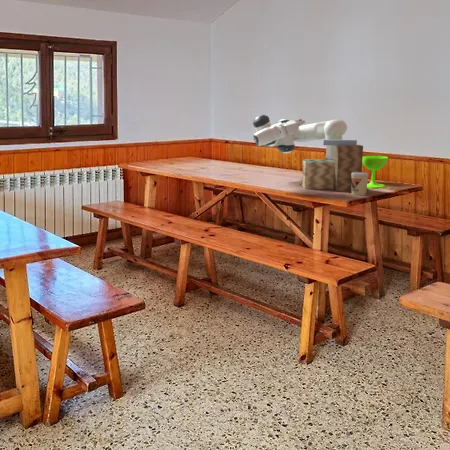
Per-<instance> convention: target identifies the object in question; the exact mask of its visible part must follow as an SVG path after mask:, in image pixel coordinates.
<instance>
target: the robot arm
mask: <svg viewBox="0 0 450 450" xmlns="http://www.w3.org/2000/svg"><path fill="white" fill-rule="evenodd" d="M305 123H306V120H304V119H302V118H300V119H296V120H294V119H292V120H291V119H290V120H289V119H286V118H281V119H279V120H278V121H276V122H275V124H271V121H270V117H269V116H268V115H265V114H261V115H258V116H257V117H255V118H254V119H253V122H252V125H253V128H254V129H255V133H254V134H253V141H254V143H255V144H256V146H258V147H261V146H264V147H275V146H276V149H277V150H278V151H279V152H280V153H283V154H290V153H291V152H293V151H294V150H295V148H296V147H295V143H307V142H314V141H322V140H343V136H344V135H345V134H346V133H347V130H348V125H347V123H346V121H344V120H342V119H331V120H327V121H326V120H325V121H319V122H314V123H313V122H312V123H309V124H305ZM325 148H326V149H325V158H324V159H323V160H335V145H325Z"/></svg>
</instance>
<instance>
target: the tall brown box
mask: <svg viewBox="0 0 450 450" xmlns="http://www.w3.org/2000/svg"><path fill="white" fill-rule="evenodd" d="M363 156H364V145H361V144H357V146H348V145H335V161H334V183H333V189H332V190H334V191H335V192H352V182H351V176H352V175H351V174H352V172H363V164H362V159H363Z"/></svg>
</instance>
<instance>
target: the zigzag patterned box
mask: <svg viewBox="0 0 450 450" xmlns="http://www.w3.org/2000/svg"><path fill="white" fill-rule="evenodd" d="M334 161H335V160H324V159H302V178H301V179H302V180H301V181H302V182H301V187H302V188H303V189H304V190H305V189H306V190H308V189H313V190H315V189H316V190H319V189H321V190H324V189H325V190H331V189H332V190H334V189H333V183H334Z"/></svg>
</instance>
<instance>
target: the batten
mask: <svg viewBox="0 0 450 450" xmlns="http://www.w3.org/2000/svg"><path fill="white" fill-rule="evenodd" d="M326 145H348V146H357V145H358V140H357V139H342V140H326V139H322V146H326Z"/></svg>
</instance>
